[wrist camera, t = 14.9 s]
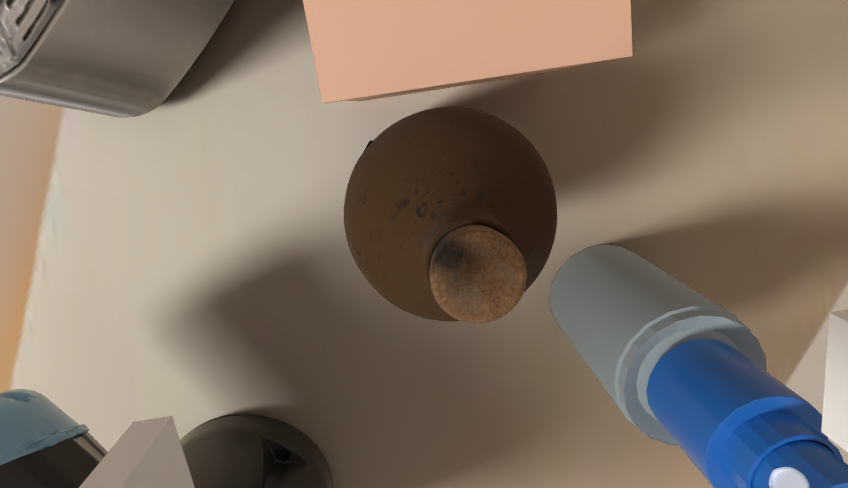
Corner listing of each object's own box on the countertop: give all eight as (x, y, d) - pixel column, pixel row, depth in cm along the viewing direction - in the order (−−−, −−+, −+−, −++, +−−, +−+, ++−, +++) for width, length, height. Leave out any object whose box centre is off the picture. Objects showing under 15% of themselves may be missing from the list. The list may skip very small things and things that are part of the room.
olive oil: (500, 105, 40) (660, 110, 16) (495, 239, 42) (623, 419, 18) (361, 105, 39) (303, 109, 15) (365, 241, 42) (321, 427, 18)
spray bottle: (529, 311, 44) (686, 560, 20) (590, 224, 43) (843, 383, 18) (611, 359, 46) (847, 643, 22) (673, 277, 44) (1006, 487, 20)
